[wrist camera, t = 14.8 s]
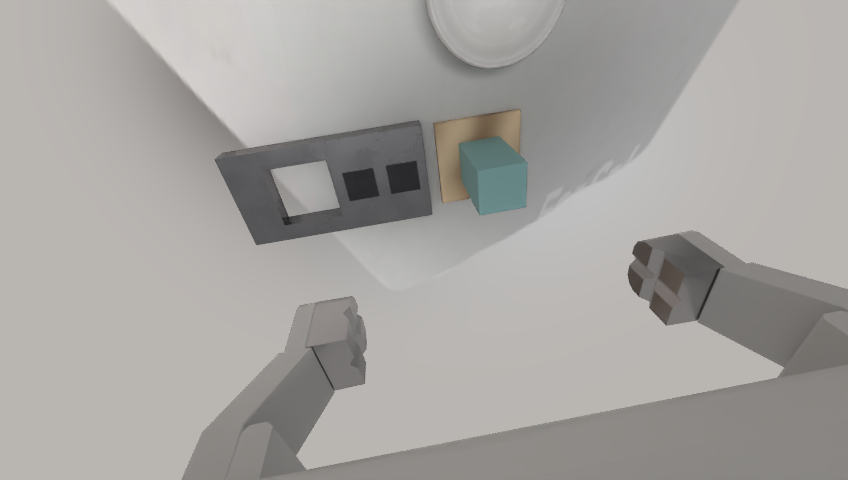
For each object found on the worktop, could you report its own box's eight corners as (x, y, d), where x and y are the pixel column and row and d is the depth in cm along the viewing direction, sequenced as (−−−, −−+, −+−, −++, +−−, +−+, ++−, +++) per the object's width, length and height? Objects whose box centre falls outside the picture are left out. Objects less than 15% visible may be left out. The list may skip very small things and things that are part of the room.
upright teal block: (499, 136, 36) (527, 162, 29) (499, 174, 38) (526, 207, 31) (458, 143, 36) (477, 171, 29) (461, 181, 38) (479, 215, 31)
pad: (518, 109, 35) (520, 110, 35) (516, 187, 40) (518, 190, 39) (433, 123, 35) (434, 124, 34) (442, 200, 40) (442, 203, 39)
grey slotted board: (418, 120, 34) (420, 125, 33) (430, 206, 40) (432, 215, 38) (222, 152, 34) (214, 159, 32) (261, 235, 39) (256, 245, 38)
